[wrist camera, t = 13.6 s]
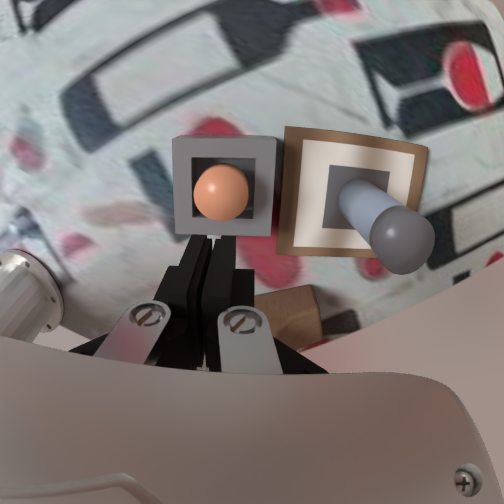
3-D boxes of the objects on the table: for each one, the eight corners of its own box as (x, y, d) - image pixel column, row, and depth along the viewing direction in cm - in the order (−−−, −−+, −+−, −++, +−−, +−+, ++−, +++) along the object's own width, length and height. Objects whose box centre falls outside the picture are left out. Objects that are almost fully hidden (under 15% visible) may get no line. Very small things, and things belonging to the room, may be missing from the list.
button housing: (183, 219, 29) (175, 233, 25) (181, 134, 25) (172, 138, 22) (267, 221, 29) (270, 236, 26) (272, 136, 25) (276, 140, 22)
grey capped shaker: (332, 219, 28) (374, 274, 19) (339, 174, 26) (389, 212, 17) (372, 222, 28) (424, 275, 19) (381, 180, 26) (441, 218, 17)
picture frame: (275, 250, 30) (276, 255, 29) (284, 126, 25) (286, 126, 24) (401, 254, 31) (405, 259, 30) (422, 145, 25) (428, 147, 24)
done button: (199, 209, 25) (194, 220, 23) (198, 162, 23) (193, 168, 21) (247, 211, 25) (247, 221, 23) (249, 163, 23) (249, 169, 21)
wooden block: (311, 282, 32) (356, 431, 16) (315, 314, 34) (354, 456, 18) (228, 299, 33) (218, 453, 17) (238, 329, 35) (236, 474, 19)
